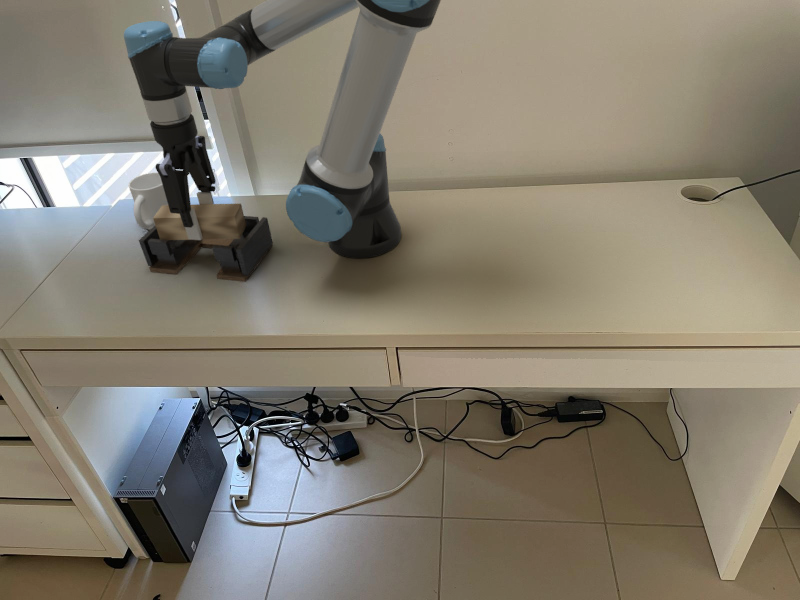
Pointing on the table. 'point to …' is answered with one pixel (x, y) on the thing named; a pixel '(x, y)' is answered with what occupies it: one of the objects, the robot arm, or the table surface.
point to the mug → (147, 198)
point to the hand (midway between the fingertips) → (203, 229)
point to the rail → (203, 222)
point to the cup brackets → (231, 253)
